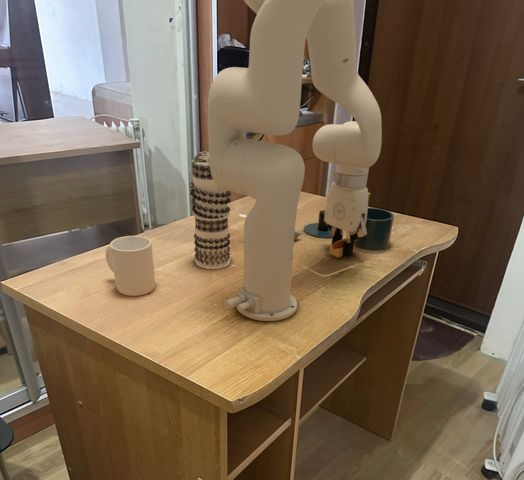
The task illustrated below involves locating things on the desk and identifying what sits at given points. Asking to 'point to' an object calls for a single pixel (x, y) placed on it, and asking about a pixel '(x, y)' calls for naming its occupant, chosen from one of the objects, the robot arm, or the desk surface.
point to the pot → (376, 230)
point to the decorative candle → (209, 216)
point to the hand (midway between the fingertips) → (341, 252)
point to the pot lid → (318, 228)
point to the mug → (132, 264)
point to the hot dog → (338, 248)
